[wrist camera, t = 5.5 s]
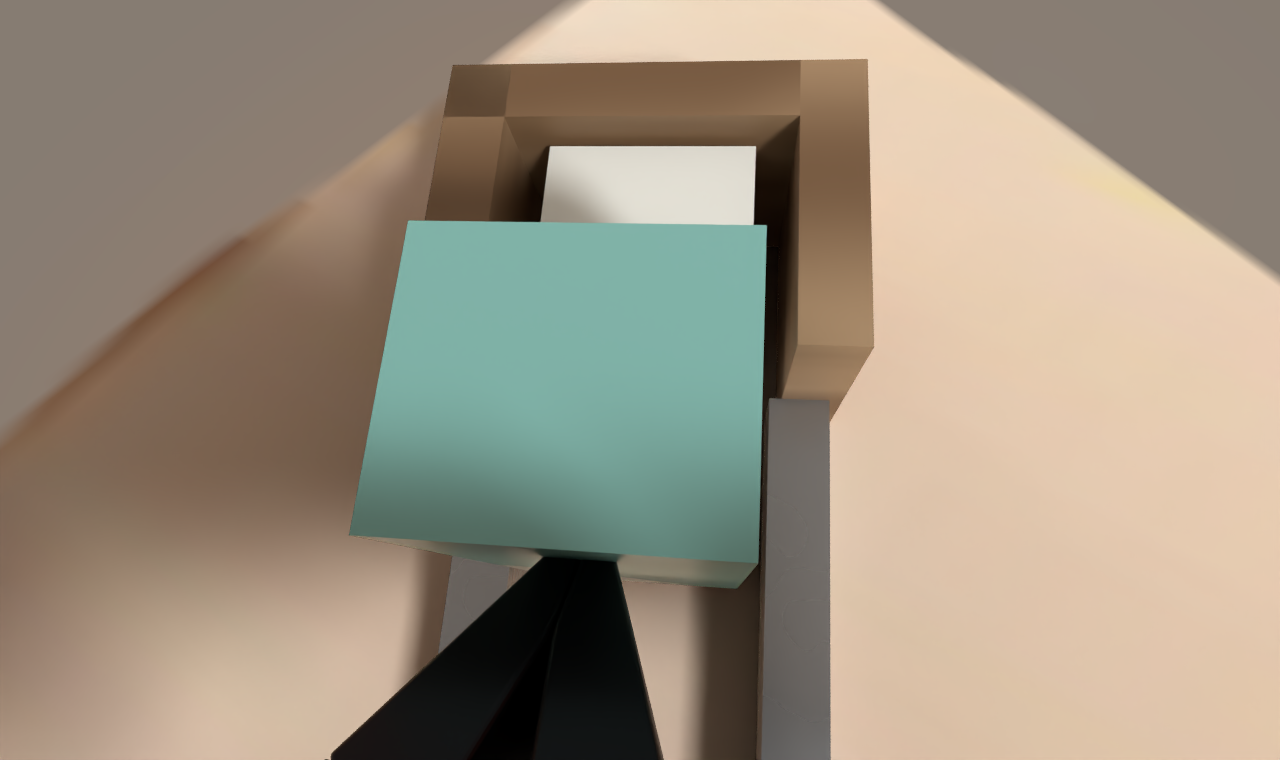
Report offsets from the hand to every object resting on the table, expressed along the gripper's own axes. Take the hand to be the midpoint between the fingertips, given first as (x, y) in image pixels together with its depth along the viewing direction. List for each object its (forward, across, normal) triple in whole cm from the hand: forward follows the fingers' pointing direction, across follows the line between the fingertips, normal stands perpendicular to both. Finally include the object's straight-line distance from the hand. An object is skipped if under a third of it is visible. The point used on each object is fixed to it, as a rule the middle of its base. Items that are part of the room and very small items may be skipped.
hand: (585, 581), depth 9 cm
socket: (+10, 0, 0) cm, 10 cm away
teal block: (+8, 0, +2) cm, 8 cm away
